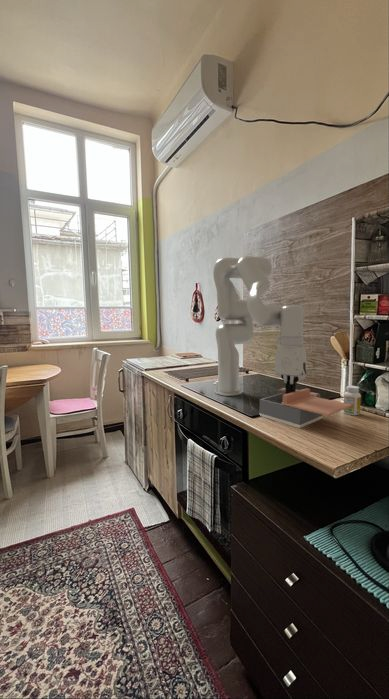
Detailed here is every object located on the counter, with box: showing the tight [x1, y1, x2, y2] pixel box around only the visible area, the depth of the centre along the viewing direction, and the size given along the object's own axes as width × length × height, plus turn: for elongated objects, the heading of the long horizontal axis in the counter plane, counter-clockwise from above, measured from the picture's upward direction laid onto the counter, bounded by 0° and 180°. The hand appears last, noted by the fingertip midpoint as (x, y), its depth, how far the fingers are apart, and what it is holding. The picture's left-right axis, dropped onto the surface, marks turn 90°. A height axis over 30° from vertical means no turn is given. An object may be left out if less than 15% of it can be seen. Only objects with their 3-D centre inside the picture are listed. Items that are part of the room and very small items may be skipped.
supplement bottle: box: [342, 385, 362, 416], centre depth 111 cm, size 5×5×10 cm
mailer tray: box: [258, 393, 324, 429], centre depth 108 cm, size 16×14×6 cm
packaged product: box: [276, 387, 321, 398], centre depth 128 cm, size 18×5×10 cm
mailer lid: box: [281, 387, 351, 417], centre depth 100 cm, size 16×15×3 cm
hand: (290, 394), depth 108 cm, fingers closed
